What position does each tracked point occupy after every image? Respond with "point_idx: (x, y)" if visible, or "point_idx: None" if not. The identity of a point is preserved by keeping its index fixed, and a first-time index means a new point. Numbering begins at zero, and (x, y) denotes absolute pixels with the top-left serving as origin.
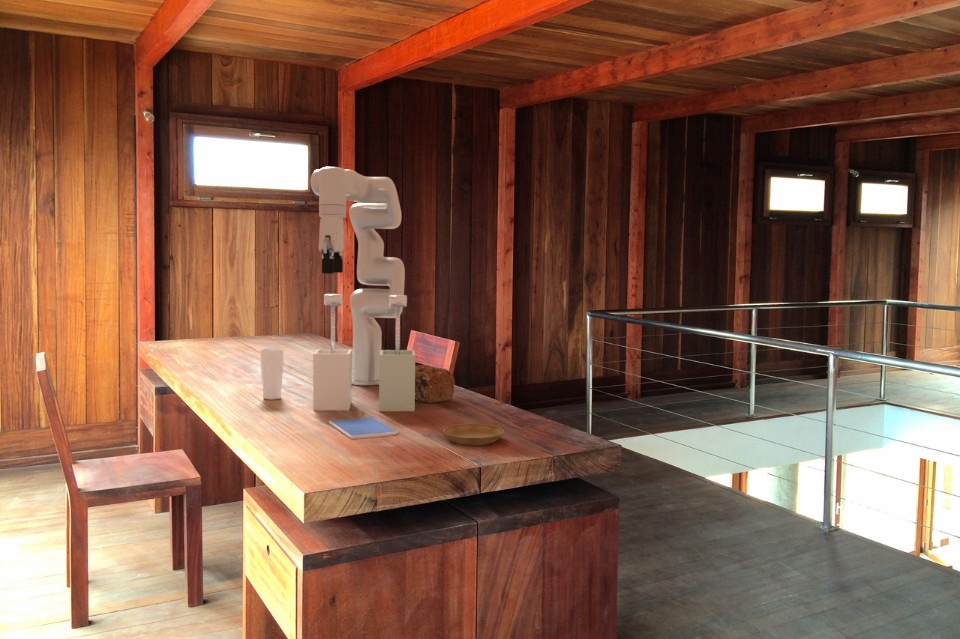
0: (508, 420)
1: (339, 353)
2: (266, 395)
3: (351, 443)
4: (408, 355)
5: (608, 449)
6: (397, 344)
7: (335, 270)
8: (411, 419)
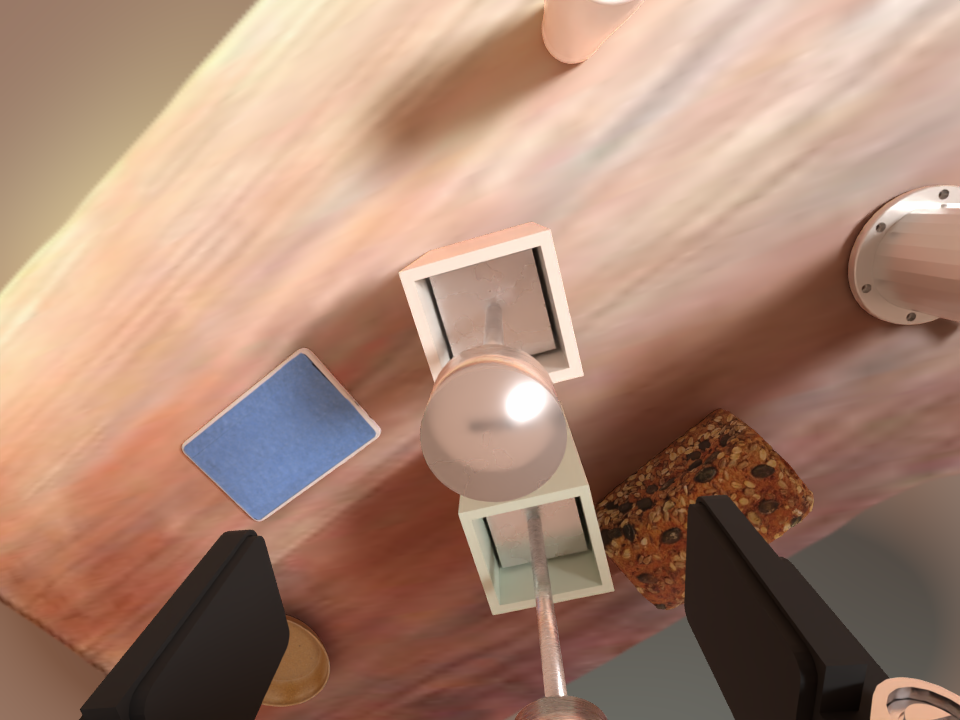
0: (457, 681)
1: (558, 326)
2: (543, 15)
3: (150, 456)
4: (486, 596)
5: None
6: (533, 577)
7: (693, 559)
8: (405, 513)
